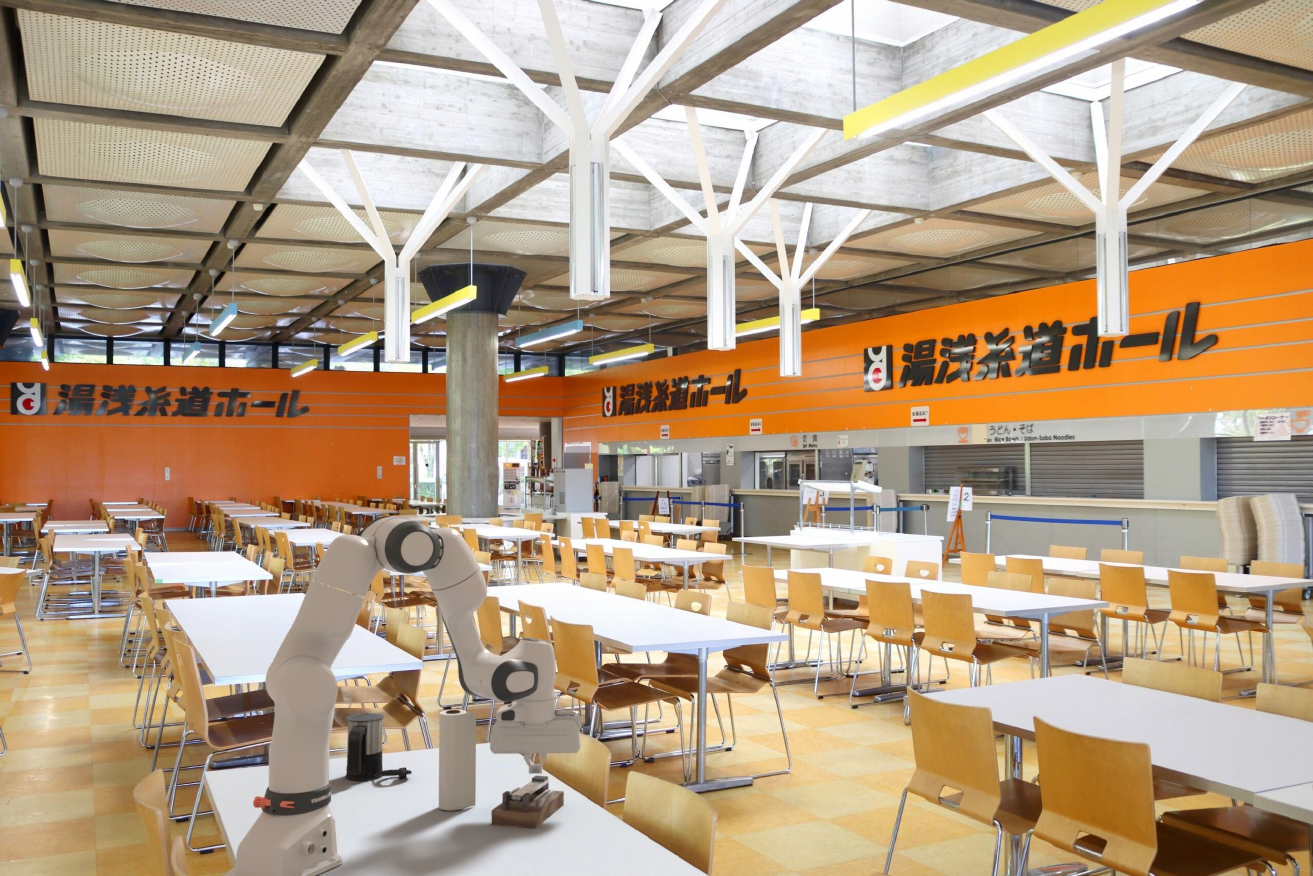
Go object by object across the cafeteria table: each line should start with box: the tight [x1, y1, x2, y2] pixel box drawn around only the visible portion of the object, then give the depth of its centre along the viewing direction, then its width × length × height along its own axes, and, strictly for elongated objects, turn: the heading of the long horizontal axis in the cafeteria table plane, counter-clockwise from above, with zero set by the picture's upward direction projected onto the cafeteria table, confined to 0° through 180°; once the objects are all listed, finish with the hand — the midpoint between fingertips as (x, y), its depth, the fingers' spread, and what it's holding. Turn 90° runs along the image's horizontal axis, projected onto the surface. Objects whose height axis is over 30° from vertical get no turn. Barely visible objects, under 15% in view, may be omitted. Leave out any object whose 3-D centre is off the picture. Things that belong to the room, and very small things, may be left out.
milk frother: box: [345, 712, 412, 781], centre depth 254 cm, size 14×16×15 cm
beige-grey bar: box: [508, 775, 550, 802], centre depth 224 cm, size 16×3×2 cm, turn 164°
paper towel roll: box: [438, 709, 477, 812], centre depth 229 cm, size 7×6×21 cm
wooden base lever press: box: [490, 781, 565, 829], centre depth 224 cm, size 17×10×6 cm, turn 164°
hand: (535, 773), depth 228 cm, fingers closed
